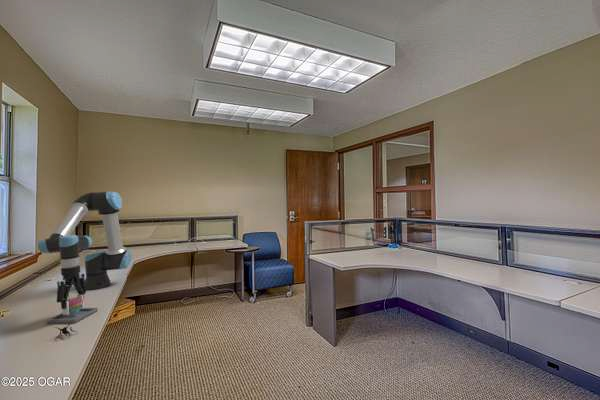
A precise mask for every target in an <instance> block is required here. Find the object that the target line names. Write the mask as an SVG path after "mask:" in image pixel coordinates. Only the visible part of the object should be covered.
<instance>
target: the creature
mask: <svg viewBox="0 0 600 400" xmlns="http://www.w3.org/2000/svg"><path fill="white" fill-rule="evenodd" d="M71 324H73V323H72V322H71V323H68V325H67V326H64V327H63V328H61V327H56V326H55V327H54V328H55V329H58V330H59V331H60V332H59V334H58V335H57V336H56V337H55V339H54V340H55V341H57V338H59V337H61V336H62V334H63V335H65V337H67V338H66V339H69V338H71V336H73V334H71V333H70V332H69V330H68V327H69V329H70V331H71V332H75V333H77V334H79V332H78V331H76V330H73V329H72V327H70V325H71ZM68 337H69V338H68ZM61 339H62V340H63V339H64V338H63V337H61V338H60V339H59V341H62V340H61Z"/></svg>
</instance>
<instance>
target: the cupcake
mask: <svg viewBox="0 0 600 400" xmlns="http://www.w3.org/2000/svg"><path fill="white" fill-rule="evenodd" d="M67 301H68V303H69V314H75V313H77V312H79V310H80V307H81V305H82V304H83V302H84V300H82V299H81V298H77V297H72V298H71V294H70V292H69V294H68V298H67Z"/></svg>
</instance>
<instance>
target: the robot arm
mask: <svg viewBox="0 0 600 400" xmlns="http://www.w3.org/2000/svg"><path fill="white" fill-rule="evenodd" d="M122 208H123V200H122V196H121V195H120V194H119V193H118V192H116V191H96V192H93V191H92V192H87V193H84V194H82V195H80V196H78V198H76V199H75V200H74V201H73V202H72V203H71V205H69V210H68V211H67V212H66V214H65V216H64V217H63V218H62V220H61V221H60V222H59V224H58V225H57V226H56V228H55V229H54V230H53V232H52V233H51V234H50V236H49V237H48V238H47V237H46V238H43V239H40V240H39V241H38V242H37V249H38V252H40V253H41V254H54V253H59V257H60V275H61V276H62V277H63V278H62V280H60V281H57V282H56V285H57V292H56V303H60V305H61V307H60V308H61V312H62V313H63V315H69V303H68V301H67V300H68V299H69V296H68V294H69V293H70V290H71V288H72V286H73V287H74V288H75V290H76V293H77V295H76V298H81V299H82V300H83V304H82V305H81V307H80V308H85V307H84V306H85V305H84V303H85V302H84V300H85V296H84V295H86V292H87V291H93V290H94V291H95V290H99V289H104V288H106V287H109V286H111V279H110V278H109V277H110V276H109V275H108V271H115V270H125V269H128V267H129V266H130V264H131V262H132V261H131V260H132V252H130V250H129V251H128V250H127V248H126V247H125V246H124V243H123V237H122V231H121V227H120V222H119V221H120V220H119V215H118V214H119V213H120V211H121V209H122ZM91 211H95V212H96V211H97V212H98V213H97V214H98V215H99V216H101V218H102V224H103V229H104V233H105V238H106V243H107V244H106V245H107V250H100V251H96V252H91V253H88V254H86V255H85V257H84V265H85V266H84V267H85V273H81V265H80V264H81V259H80V252H81V251H82V252H83V251H86V250H87V249H89V248H91V246H92V245H93V240H92V238H91V236H89V235H80V236H78V235H76V234H72V233H73V232H74V231H75V229H76V227H77V226H78V225H79V223H80V221H81V220H82V218H83V217H84V216H86V215H87V214H89V212H91Z"/></svg>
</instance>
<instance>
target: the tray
mask: <svg viewBox="0 0 600 400" xmlns="http://www.w3.org/2000/svg"><path fill="white" fill-rule="evenodd" d="M98 311H99V310H98V307H83V308H80V310H79V312H77V313H75V314H69V315H63V312H61V313H60V314H57V315H55V316H53V317H51V318H49V319H47V324H50V323H54V324H70V323H71V322H72V323H71V324H77V323H79V322H80V320H81V321H82V320H84V319H85V318H87V317H89V316H91V315H93V314H96V313H97V312H98Z"/></svg>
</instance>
